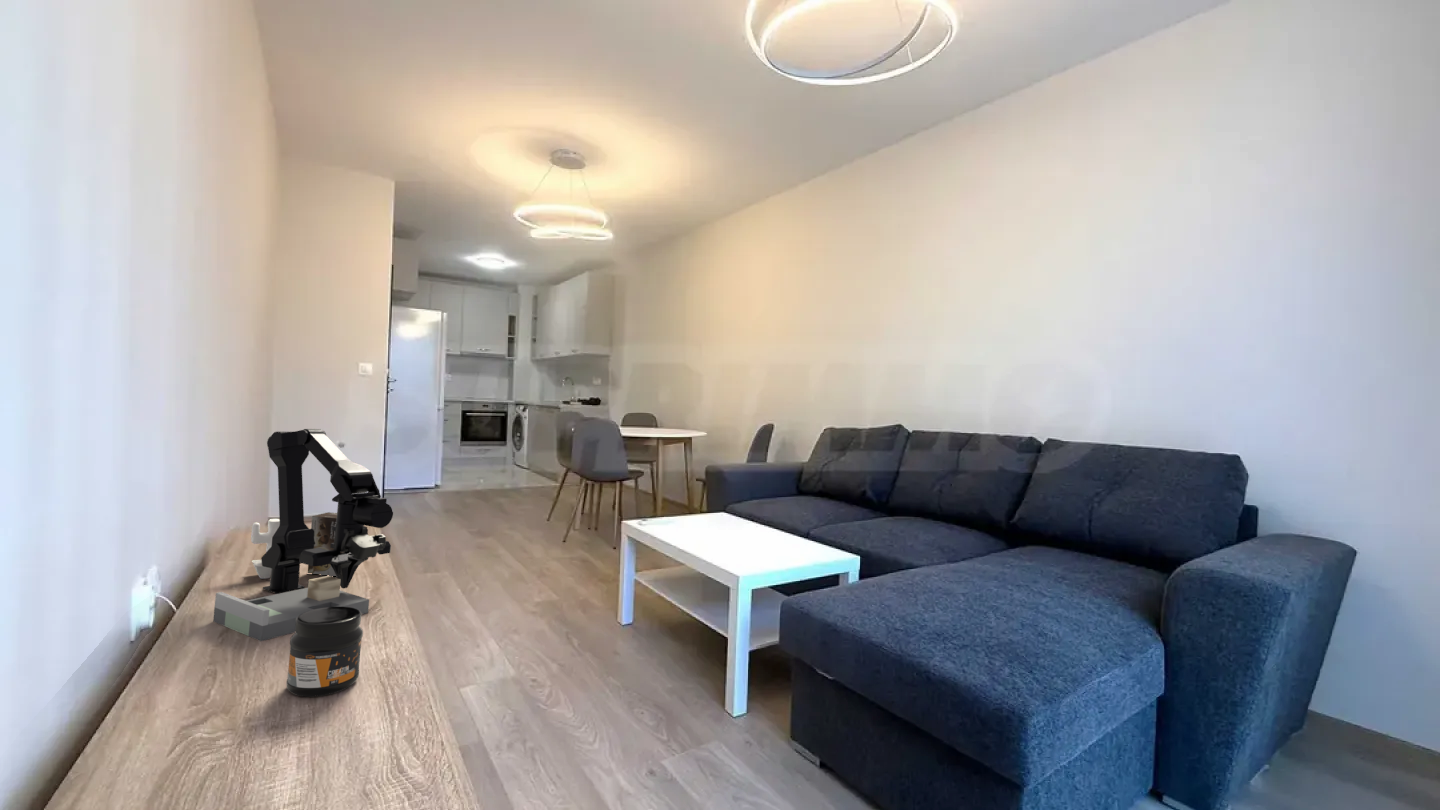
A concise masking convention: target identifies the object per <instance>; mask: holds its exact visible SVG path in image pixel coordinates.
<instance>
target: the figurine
mask: <svg viewBox="0 0 1440 810" xmlns="http://www.w3.org/2000/svg"><path fill="white" fill-rule="evenodd" d="M279 526H280V518H270V519H268V521H267V532H261V531H260V530H261V529H260V528H261V524H260V523H259V522H256V521H255V522H253V523H252V525H251V531H250V532H251V534H250V535H251V536H250V540H251V543H252V544H254V545H258V544H260V545H262V544H266V548H265V553H266V552H267V551H268V550H269V549H270V548H271V547H272V537H273V535H274V534H275V532H276V531H277V529H278V527H279ZM251 562H252V565H253V566H254V569H255V572H256V575H257V576H258V577H259V579H261V580H262V579H263V580H264V579H270V577H271V568H268V567H264V566H262V560H261V559H254V560H251Z"/></svg>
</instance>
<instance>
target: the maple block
mask: <svg viewBox="0 0 1440 810" xmlns="http://www.w3.org/2000/svg"><path fill="white" fill-rule="evenodd" d="M340 583H341V579H339V578H337V577H332V576H320V577H316V578H311V579H308V585H307V588H308V594H307V597H308V598H311V599H314V600H317V601H322V600H326V599H331V598H335V597H339V594H340V590H341V586H340Z"/></svg>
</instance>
